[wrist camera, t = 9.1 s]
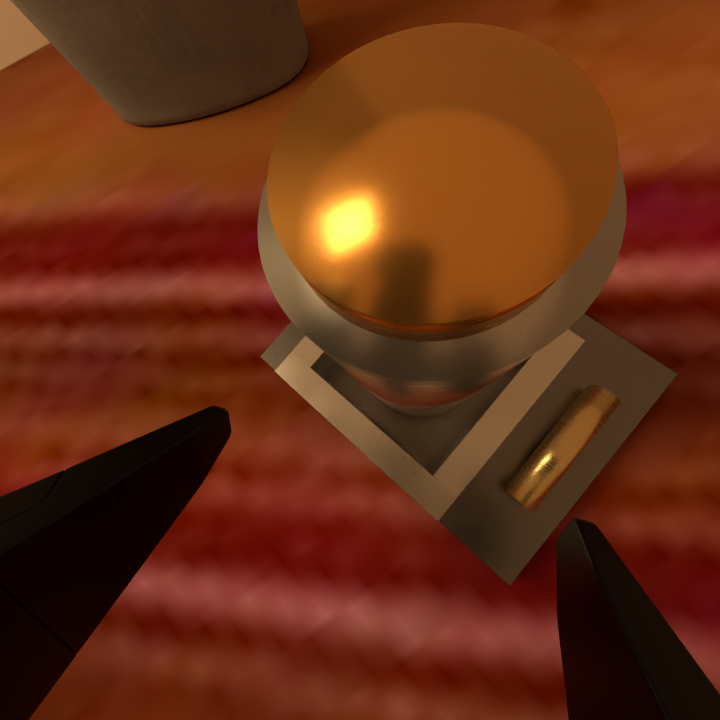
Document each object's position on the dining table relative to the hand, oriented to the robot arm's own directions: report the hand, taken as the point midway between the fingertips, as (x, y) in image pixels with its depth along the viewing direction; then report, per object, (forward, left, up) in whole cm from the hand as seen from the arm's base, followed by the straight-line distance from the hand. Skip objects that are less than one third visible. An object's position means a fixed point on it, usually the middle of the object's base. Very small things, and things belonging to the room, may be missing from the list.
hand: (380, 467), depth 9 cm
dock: (+1, -5, -9) cm, 10 cm away
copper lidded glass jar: (+2, -4, -8) cm, 9 cm away
